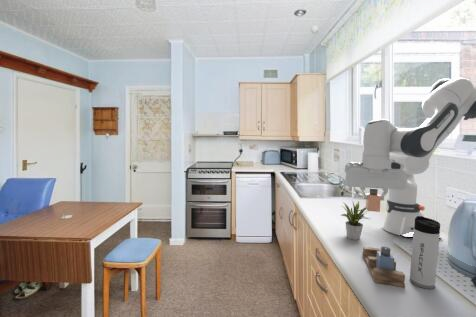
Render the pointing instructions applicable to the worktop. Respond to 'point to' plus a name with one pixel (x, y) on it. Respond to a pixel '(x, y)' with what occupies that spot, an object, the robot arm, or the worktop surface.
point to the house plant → (354, 221)
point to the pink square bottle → (373, 200)
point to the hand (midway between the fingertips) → (373, 199)
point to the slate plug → (385, 259)
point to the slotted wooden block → (382, 274)
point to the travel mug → (424, 252)
